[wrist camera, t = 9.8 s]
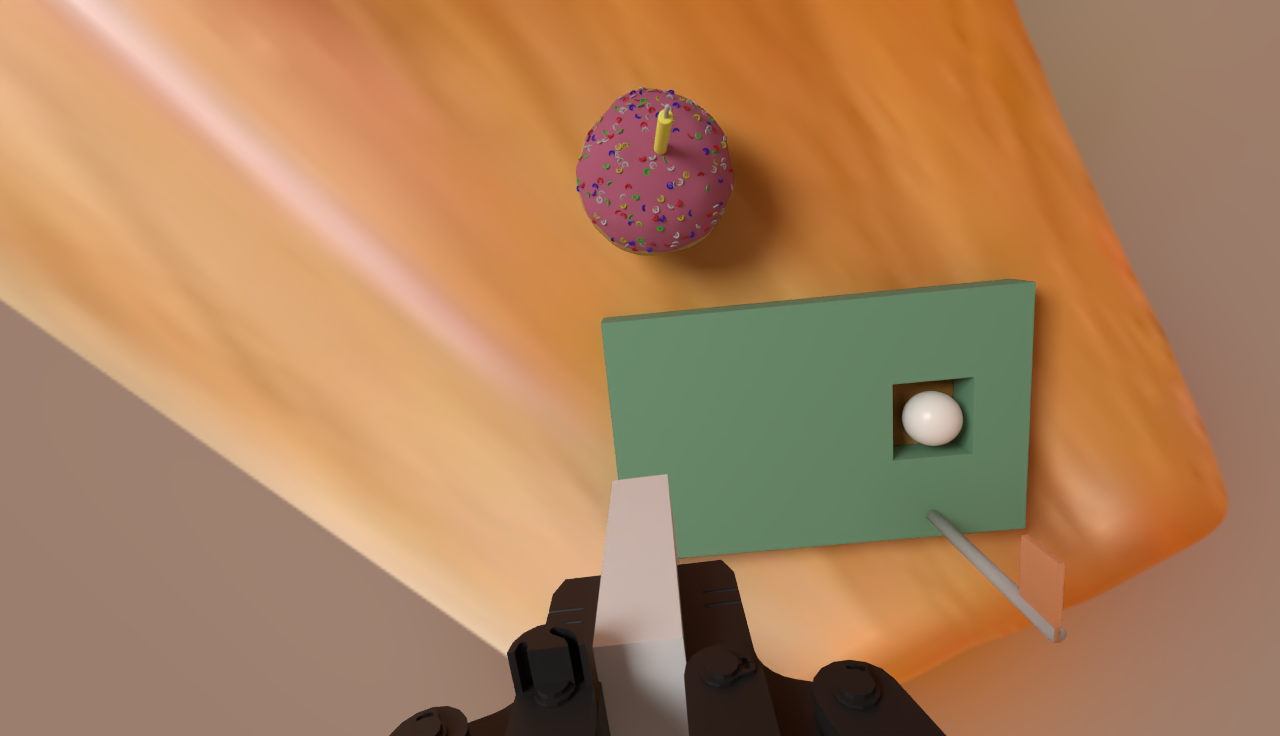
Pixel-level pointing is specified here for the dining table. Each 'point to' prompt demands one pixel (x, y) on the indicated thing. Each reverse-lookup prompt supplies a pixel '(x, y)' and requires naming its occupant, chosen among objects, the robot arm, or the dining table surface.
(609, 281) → the dining table surface
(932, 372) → the putting mat
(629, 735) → the robot arm
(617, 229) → the cupcake
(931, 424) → the ball
